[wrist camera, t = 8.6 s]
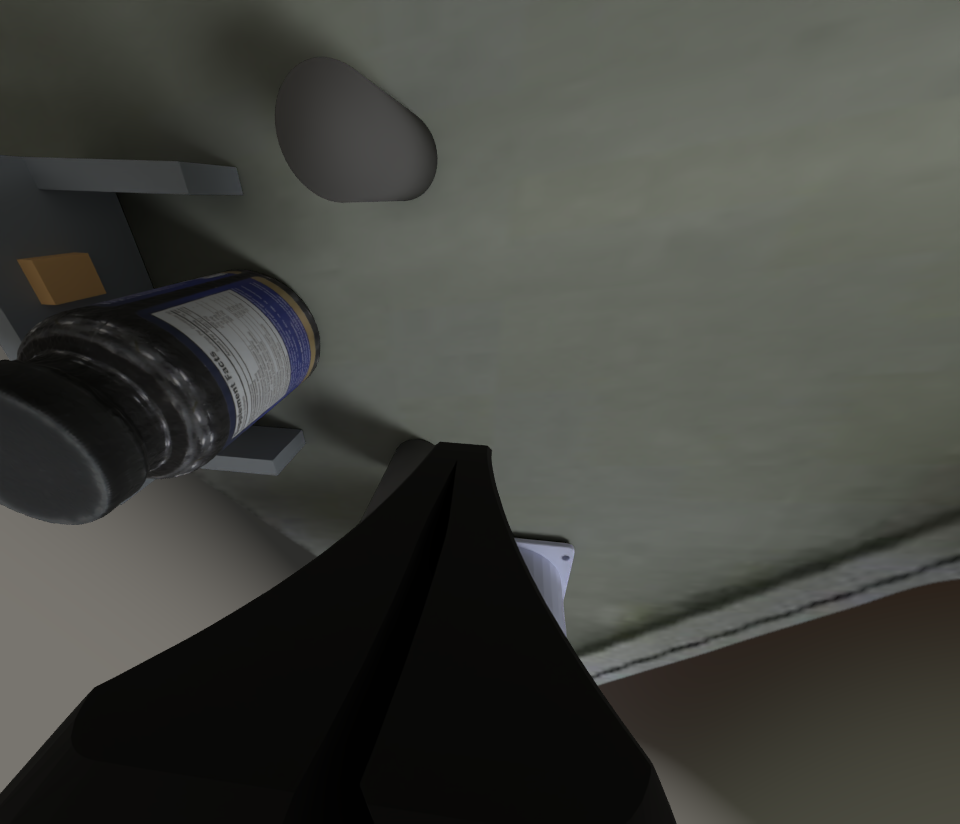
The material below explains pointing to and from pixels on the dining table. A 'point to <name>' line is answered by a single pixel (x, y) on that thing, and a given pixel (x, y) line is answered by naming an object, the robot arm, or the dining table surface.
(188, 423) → the pill bottle
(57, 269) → the rectangular block
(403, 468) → the post
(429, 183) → the post
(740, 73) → the dining table surface
